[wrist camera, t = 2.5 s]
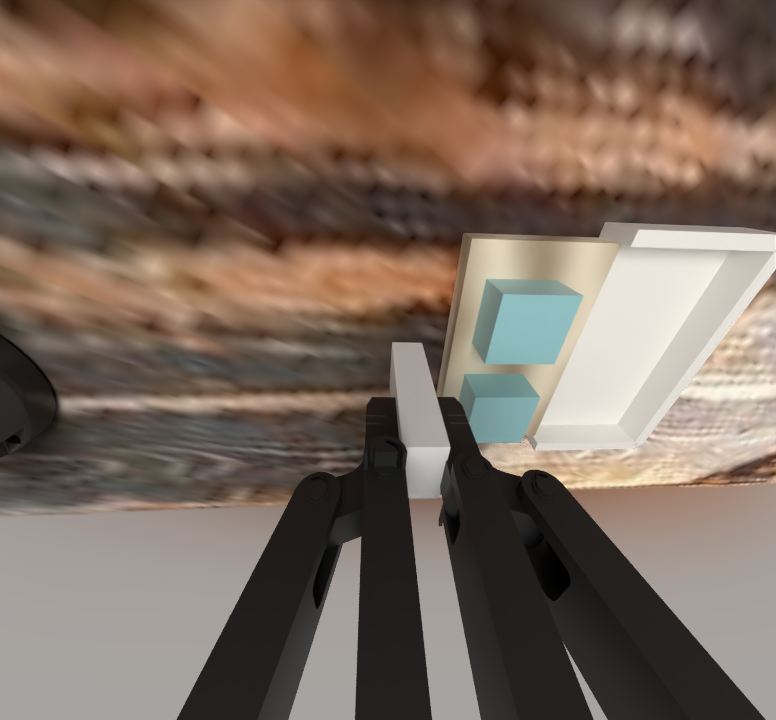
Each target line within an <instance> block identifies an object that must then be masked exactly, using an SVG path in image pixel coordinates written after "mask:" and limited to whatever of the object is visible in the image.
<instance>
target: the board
mask: <svg viewBox="0 0 776 720" xmlns="http://www.w3.org/2000/svg"><path fill="white" fill-rule="evenodd" d="M620 247H621V244H619V243H615V242H612V241H608V240H605V239H602V238H594V237H565V236H537V235H508V234H479V233H463V238H462V244H461V250H460V256H459V262H458V268H457V274H456V280H455V286H454V292H453V298H452V304H451V309H450V315H449V321H448V327H447V333H446V339H445V345H444V351H443V357H442V363H441V369H440V375H439V380H438V386H437V392H436V396H437V397H455V398H456V399H457V400H458V401H459V397H460V392H461V388H462V384H463V379H464V375H465V374H523V375H524V376H525V378H526V379H527V380H528V382H529V383H530V384H531V386H532V387H533V388H534V389H535V391H536V392H537V393H538V395H539V396H540V400H539V402H538V404H537V407H536V409H535V411H534V414H533V416H532V418H531V421H530V423H529V425H528V428H527V430H526V433H525V435H524V436H535V434H536V432H537V430H538V427H539V425H540V423H541V421H542V419H543V416H544V414H545V412H546V410H547V408H548V405H549V403H550V401H551V399H552V397H553V394H554V392H555V390H556V388H557V385H558V383H559V381H560V379H561V377H562V374H563V372H564V370H565V368H566V366H567V363H568V361H569V359H570V357H571V355H572V352H573V350H574V348H575V346H576V344H577V341H578V339H579V337H580V335H581V333H582V330H583V328H584V326H585V324H586V322H587V319H588V317H589V315H590V313H591V311H592V308H593V306H594V304H595V302H596V300H597V297H598V295H599V293H600V291H601V288H602V286H603V284H604V282H605V280H606V277H607V275H608V273H609V271H610V269H611V266H612V264H613V262H614V260H615V258H616V255H617V253H618V251H619V249H620ZM486 279H526V280H557V281H559V282H561V283H562V284H564V285H566V286H568V287H569V288H571V289H573V290H574V291H576V292H578V293H580V294H581V295H583V298H582V301H581V303H580V306H579V308H578V310H577V313H576V315H575V317H574V320H573V322H572V324H571V327H570V329H569V331H568V334H567V336H566V338H565V341H564V343H563V346H562V348H561V350H560V353H559V355H558V357H557V360H556V362H555V364H484V362H483V360H482V359H481V357H480V355H479V354H478V352H477V350H476V349H475V347H474V345H473V344H472V340H473V335H474V331H475V326H476V322H477V318H478V313H479V309H480V304H481V300H482V295H483V291H484V287H485V282H486Z"/></svg>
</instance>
